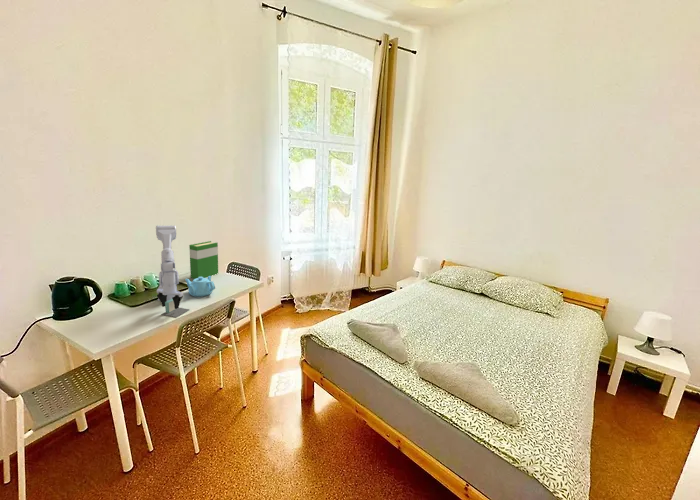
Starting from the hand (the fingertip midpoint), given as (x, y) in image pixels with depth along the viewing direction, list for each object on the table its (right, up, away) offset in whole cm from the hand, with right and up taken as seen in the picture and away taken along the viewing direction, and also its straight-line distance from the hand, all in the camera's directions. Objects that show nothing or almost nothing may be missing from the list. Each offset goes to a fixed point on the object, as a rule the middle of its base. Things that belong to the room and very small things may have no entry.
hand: (170, 307), depth 169 cm
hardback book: (-9, +12, +59) cm, 61 cm away
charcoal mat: (+3, -3, 0) cm, 4 cm away
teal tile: (0, -2, 0) cm, 2 cm away
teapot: (+3, +3, +28) cm, 28 cm away
